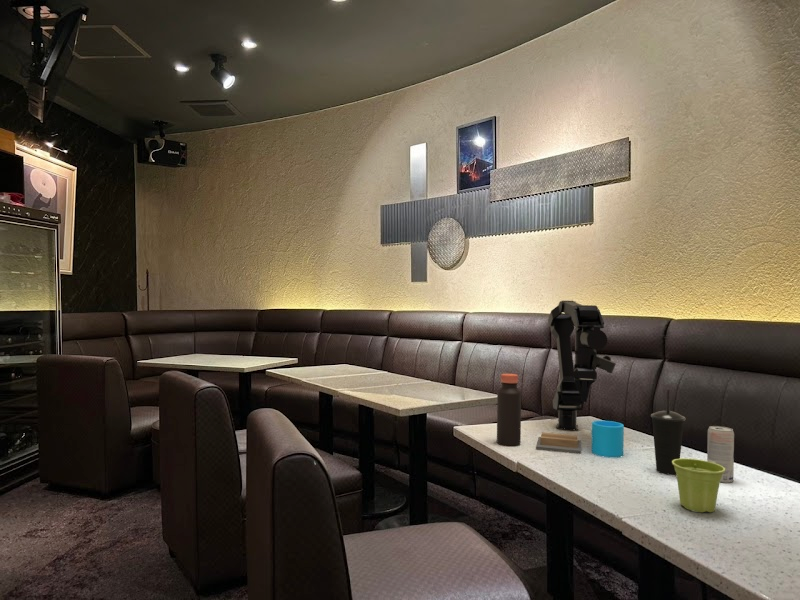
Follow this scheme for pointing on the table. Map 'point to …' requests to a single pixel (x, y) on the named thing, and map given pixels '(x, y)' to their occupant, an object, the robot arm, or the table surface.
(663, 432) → the drinking cup
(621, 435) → the blue cup
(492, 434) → the table surface
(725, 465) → the energy drink
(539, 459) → the table surface
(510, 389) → the bottle
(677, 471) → the plant pot
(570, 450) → the rubber mat
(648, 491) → the table surface
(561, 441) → the walnut lid
